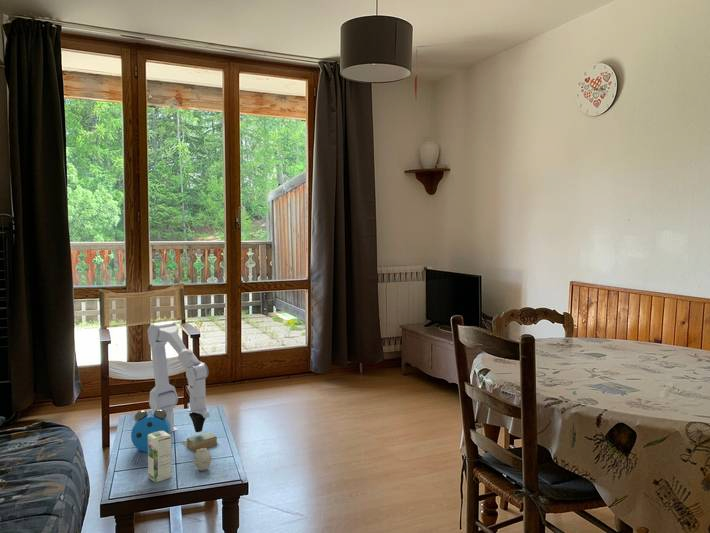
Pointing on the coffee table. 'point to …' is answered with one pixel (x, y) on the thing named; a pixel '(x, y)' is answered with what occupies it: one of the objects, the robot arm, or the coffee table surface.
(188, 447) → the rubber mat
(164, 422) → the alarm clock
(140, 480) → the coffee table surface
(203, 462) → the beige rounded lump
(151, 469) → the syrup box
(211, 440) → the oak slab
